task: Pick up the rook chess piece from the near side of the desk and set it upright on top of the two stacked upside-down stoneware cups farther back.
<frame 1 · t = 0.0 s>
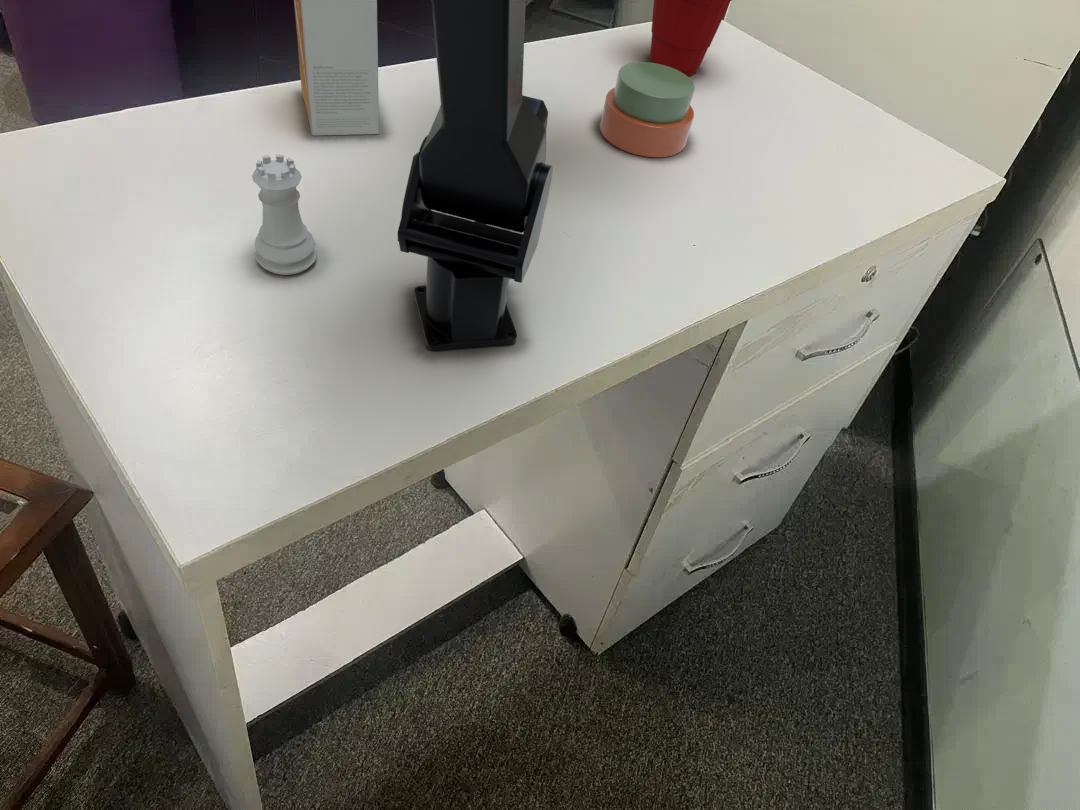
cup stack: (642, 134, 80), on the table
rook chess piece: (287, 261, 59), on the table
plastic cup: (673, 66, 93), on the table
small box: (339, 116, 74), on the table
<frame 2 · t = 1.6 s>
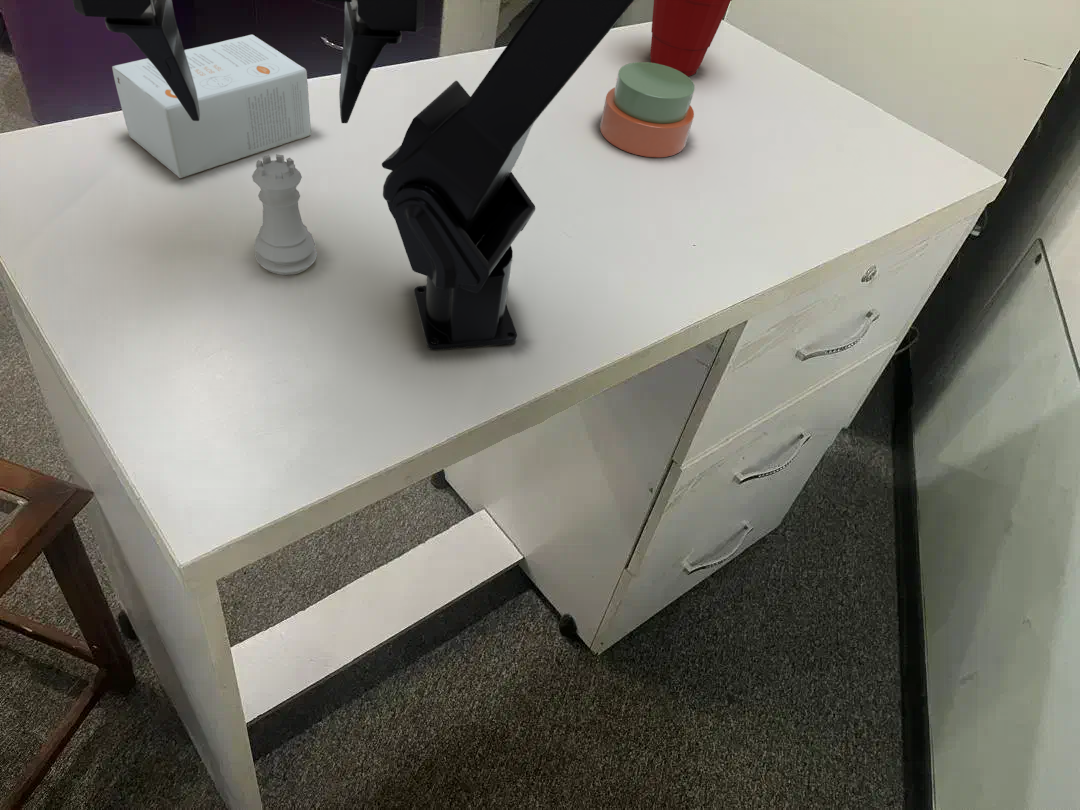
hand: (272, 119, 51), 11 cm above the table, tool pointing down, fingers open, 9 cm apart
small box: (285, 85, 70), point 3 cm above the table
everything else where it was.
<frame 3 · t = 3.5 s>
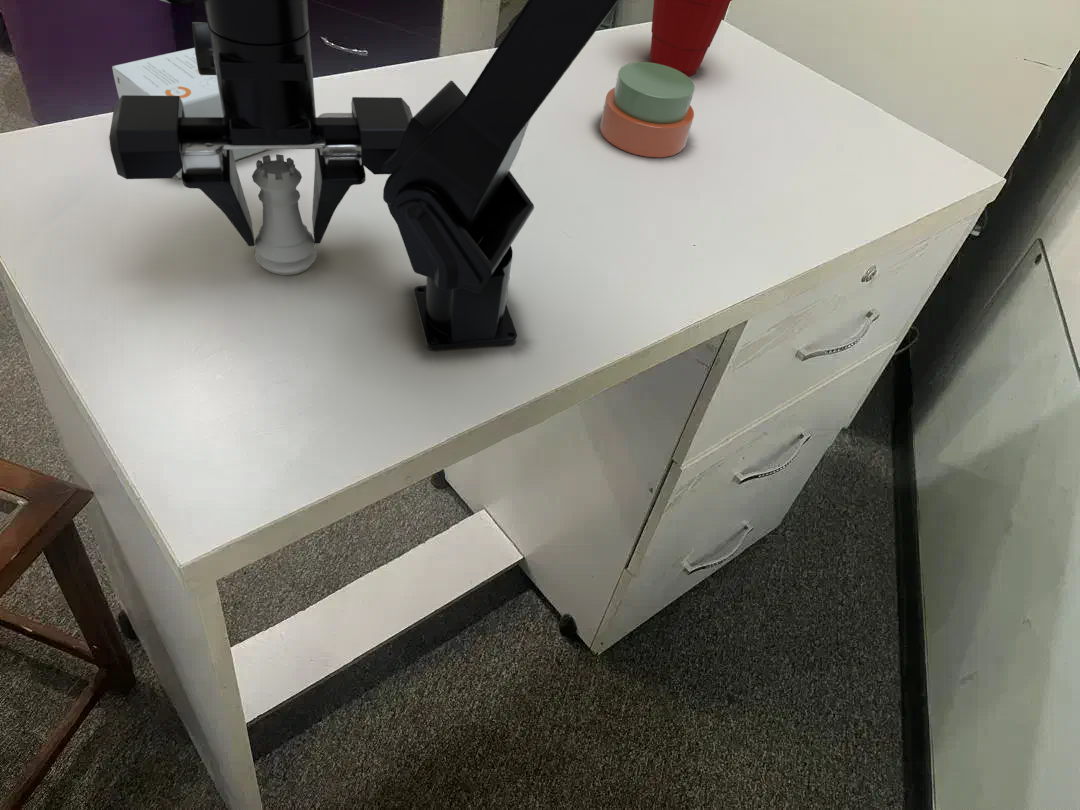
hand: (285, 241, 58), 2 cm above the table, tool pointing down, fingers closed on rook chess piece, 4 cm apart
rook chess piece: (287, 261, 59), on the table, touching gripper
everything else where it was.
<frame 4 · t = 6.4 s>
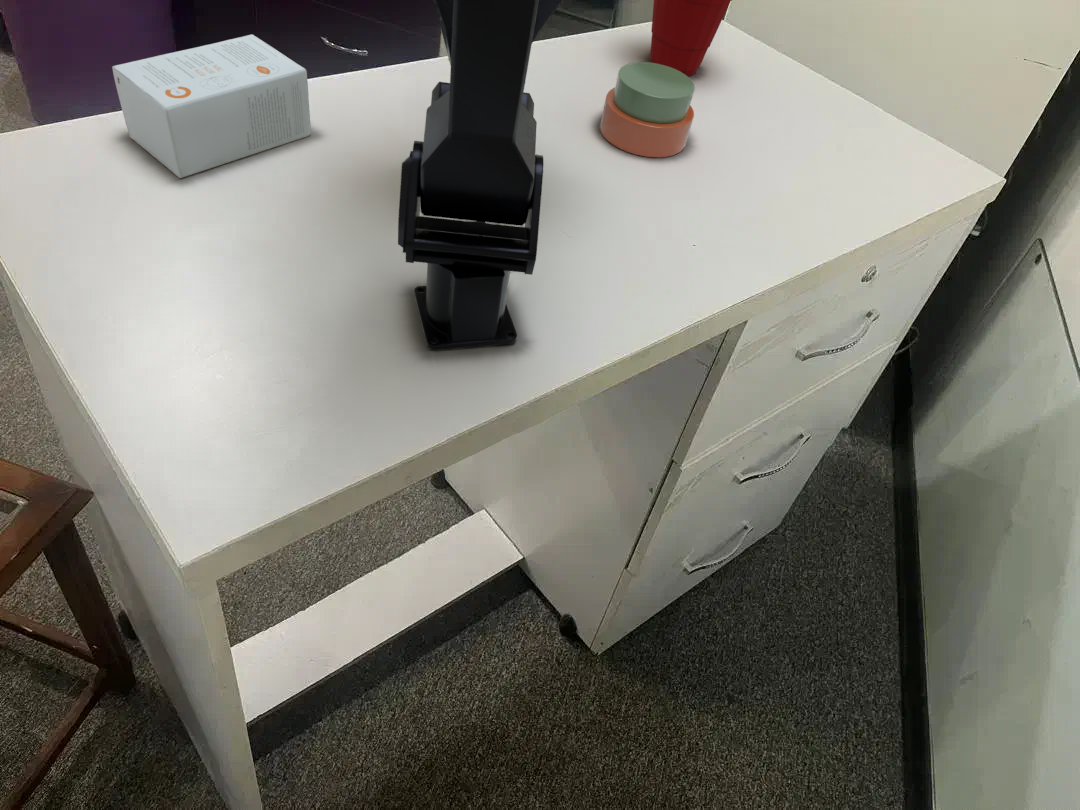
hand: (483, 67, 60), 11 cm above the table, tool pointing down, fingers closed on rook chess piece, 4 cm apart
rook chess piece: (480, 89, 62), point 9 cm above the table, touching gripper
everything else where it was.
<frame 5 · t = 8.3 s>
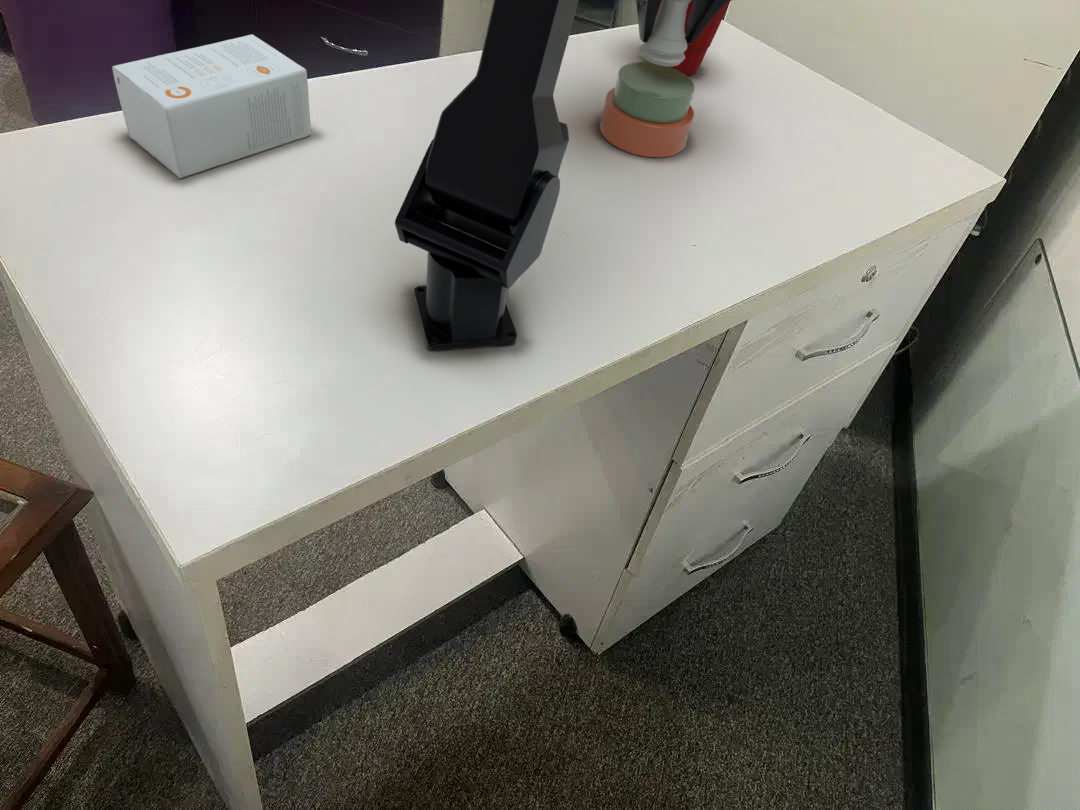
hand: (665, 41, 73), 9 cm above the table, tool pointing down, fingers closed on rook chess piece, 4 cm apart
rook chess piece: (660, 59, 75), point 8 cm above the table, touching gripper
everything else where it was.
when the fingers open (7 cm above the table, at t = 9.3 s): rook chess piece stays where it is, resting on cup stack.
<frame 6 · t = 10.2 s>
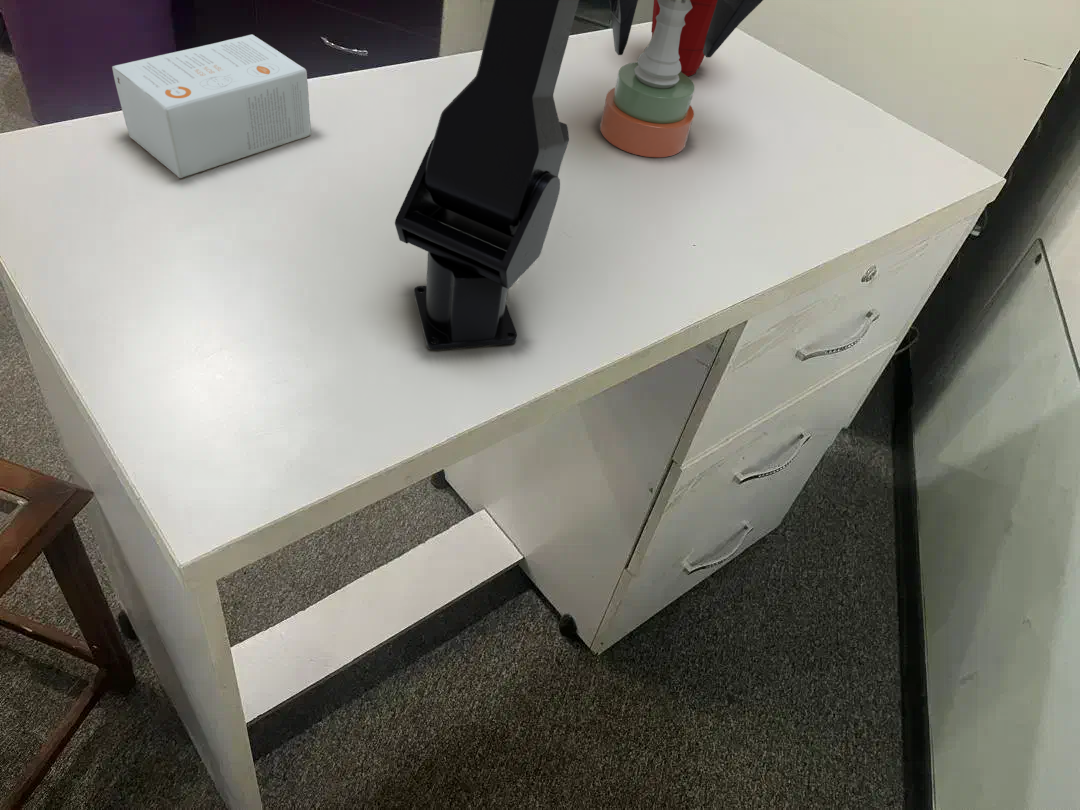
hand: (663, 54, 74), 8 cm above the table, tool pointing down, fingers open, 9 cm apart
rook chess piece: (655, 81, 76), point 6 cm above the table, touching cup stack
everything else where it was.
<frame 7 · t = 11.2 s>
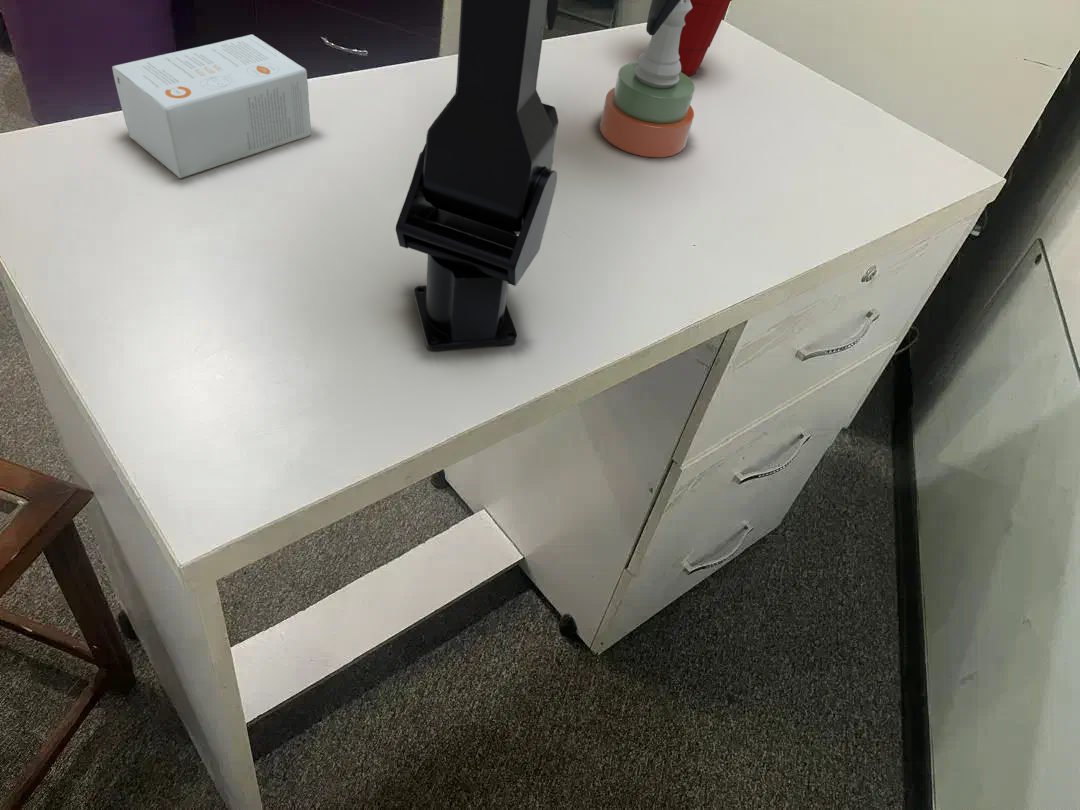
hand: (600, 30, 66), 12 cm above the table, tool pointing down, fingers open, 9 cm apart
nothing on the table moved.
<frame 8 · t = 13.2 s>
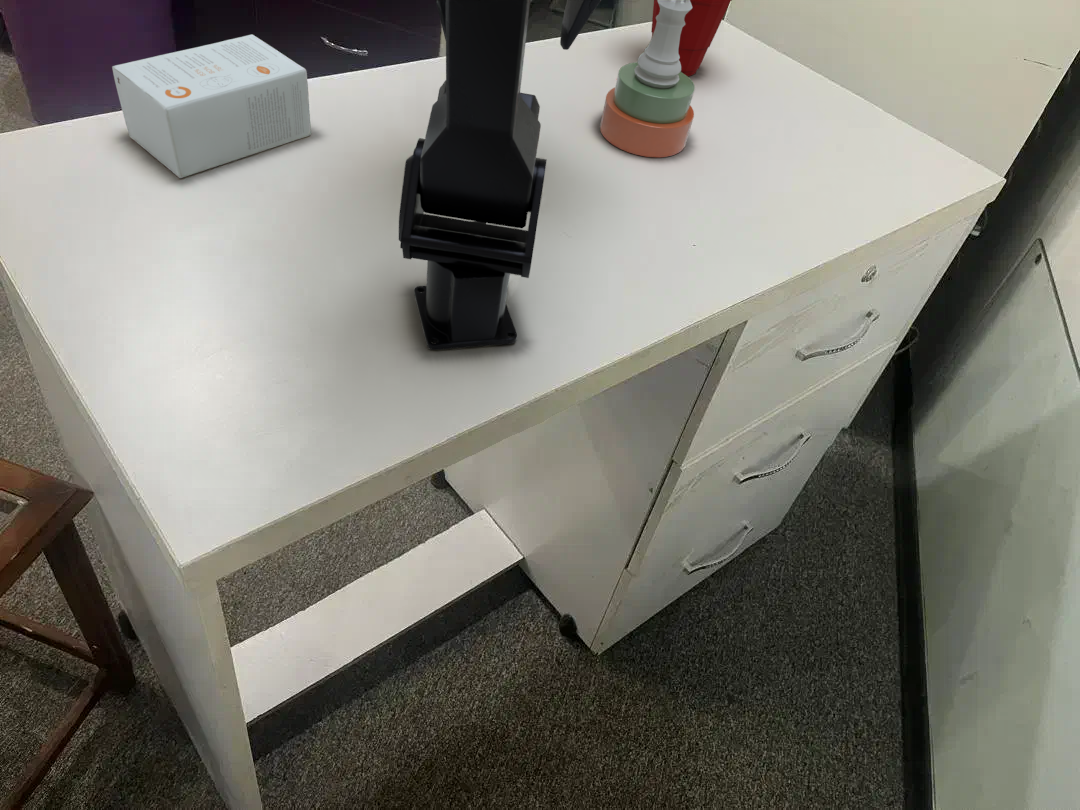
hand: (507, 45, 60), 13 cm above the table, tool pointing down, fingers open, 9 cm apart
nothing on the table moved.
at the end: rook chess piece 0.1 cm off-centre on the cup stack, point 5.6 cm above the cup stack's base; rook chess piece tilted 0°; the gripper is holding nothing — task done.
